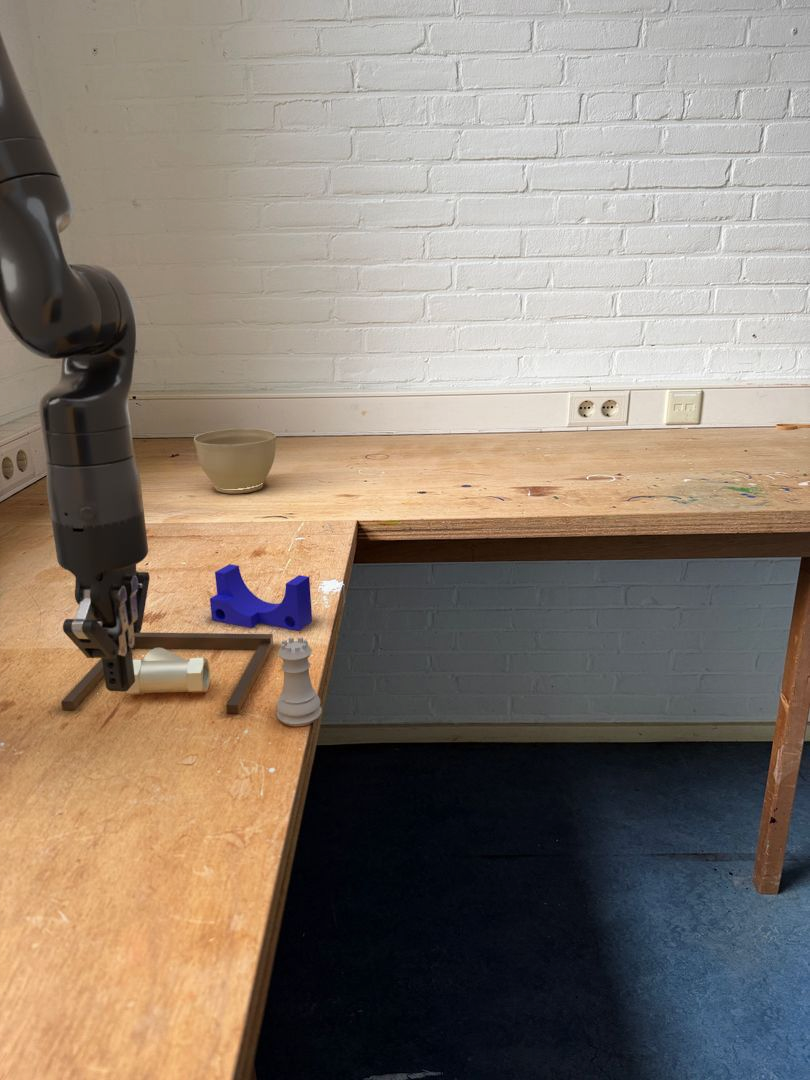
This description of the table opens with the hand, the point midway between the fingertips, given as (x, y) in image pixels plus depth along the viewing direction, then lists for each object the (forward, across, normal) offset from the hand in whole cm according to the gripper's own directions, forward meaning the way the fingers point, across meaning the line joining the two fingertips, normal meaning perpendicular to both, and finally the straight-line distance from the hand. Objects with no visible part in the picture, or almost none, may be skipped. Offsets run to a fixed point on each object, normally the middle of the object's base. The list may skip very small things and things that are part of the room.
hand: (121, 687), depth 74 cm
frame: (+5, -12, 0) cm, 13 cm away
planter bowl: (+5, -90, -15) cm, 92 cm away
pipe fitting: (+5, -10, +1) cm, 11 cm away
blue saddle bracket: (+5, -27, +6) cm, 28 cm away
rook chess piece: (+5, -4, +16) cm, 17 cm away
